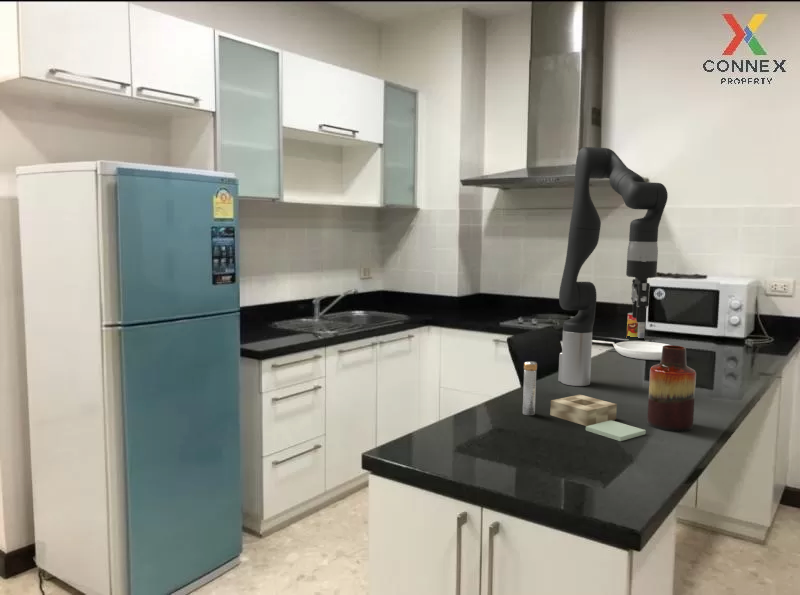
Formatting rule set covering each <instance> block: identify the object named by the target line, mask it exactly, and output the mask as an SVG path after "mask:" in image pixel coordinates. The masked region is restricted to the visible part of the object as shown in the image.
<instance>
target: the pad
mask: <svg viewBox="0 0 800 595" xmlns="http://www.w3.org/2000/svg"><path fill="white" fill-rule="evenodd" d="M585 431H586V432H590V433H593V434H595V435H600V436H603V437H605V438H609V439H612V440H616V441H618V442H623V441H626V440H630V439H633V438H636V437H642V436H644V435H646V429H643V428H641V427H635V426H633V425H628V424H625V423H622V422H619V421H615V420H609V421H605V422H601V423H597V424H593V425H589V426H585Z"/></svg>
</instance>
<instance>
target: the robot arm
mask: <svg viewBox="0 0 800 595" xmlns="http://www.w3.org/2000/svg"><path fill="white" fill-rule="evenodd" d="M574 171H575V172H574V187H573V188H574V189H573V190H574V191H573V203H572V211H571V217H570V223H569V230H568V240H567V248H566V257H565V262H564V263H565V264H564V268H563V272H562V277H561V280H560V281H561V282H560V286H559V293H558V301H559V302H558V303H559V306H560V308H561V309H562V310H565V311H578V312H577V314H575V316H573V317H571V318H570V319H566V320H564V322H563V325H562V344H561V345H562V348H561V349H562V350H561V352H559V357H558V379H557V380H558V382H560V383H561V384H563V385H568V386H573V387H575V386H576V387H584V386H589V385H591V372H592V371H591V369H592V352H593V350H592V348H593V345H592V344H593V342H592V340H593V329H594V328H593V327H594V324H595V318H596V307H597V295H598V294H597V289H596V286H595V284H594V282H591V281H578V277H579V274H580V270H581V269H582V267H583V265H584V264H585V262H586V261H588V260H587V259H588V258H590V256H591V255H592V254H593V252H594V251H595V250H596V248H597V246H598V244H599V239H600V233H601V228H602V226H601V225H602V224H601V218H600V215H599V213H598V211H597V209H596V207H595V205H594V202H593V200H592V197H591V194H590V179H598V180H601V179H608V180H609V185H610V187H611V188H612V190H613V191H614V192H616V193H617V194H618V195H620V196H621V197H622V198H621V199H622V200H623V202H624V205H625V207H627V208H629V209H632V210H646V213H645V215H644V216H643V217H640V218H635V219H632V220H631V221H630V223H629V233H628V234H629V236H628V237H629V238H628V245H627V246H628V247H627V254H626V272H625V273H626V275H625V276H627V277H629V278H633V279H632V283H631V298H630V299H631V303H632V312H631V313H632V317H633V318H636V321H637V322H645V323H646V322H647V308H648V307H649V305H650V303H649V301H650V300H649V299H650V289H651V288H650V286H651V284H650V282H648V279H653V278H656V277H657V272H658V258H659V256H658V255H659V254H658V253H659V250H658V249H659V246H658V241H659V240H658V237H659V236H658V235H659V226H660V223H661V219H662V216H663V213H664V210H665V208H666V205H667V202H668V196H669V195H668V194H669V193H668V189H667V188H666V186H665V185H664V184H662V183H661V182H649V181H648V182H647V181H645V179H644V178H643V176H641V175H640V174H638V173H637V172H635V171H633V170H632V169H631V168H629V167H627V165H626V164H625V163H624V161H623V160H622V159H621V158H620V157H619V156H618V154H617V153H616V152H615V151H614V150H612V149H610V148H607V147H596V146H595V147H593V146H584V147H581V148H580V149H579V151H578V153H577V156H576V160H575V169H574Z"/></svg>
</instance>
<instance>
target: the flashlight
mask: <svg viewBox="0 0 800 595" xmlns="http://www.w3.org/2000/svg"><path fill="white" fill-rule="evenodd" d="M537 370H538V363H537V361H532V360H531V361H524V362H523V391H522V392H523V393H522V394H523V395H522V396H523V398H522V414H523V415H525V416H535V414H536V395H537V394H536V392H537V391H536V390H537V389H536V388H537Z"/></svg>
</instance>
